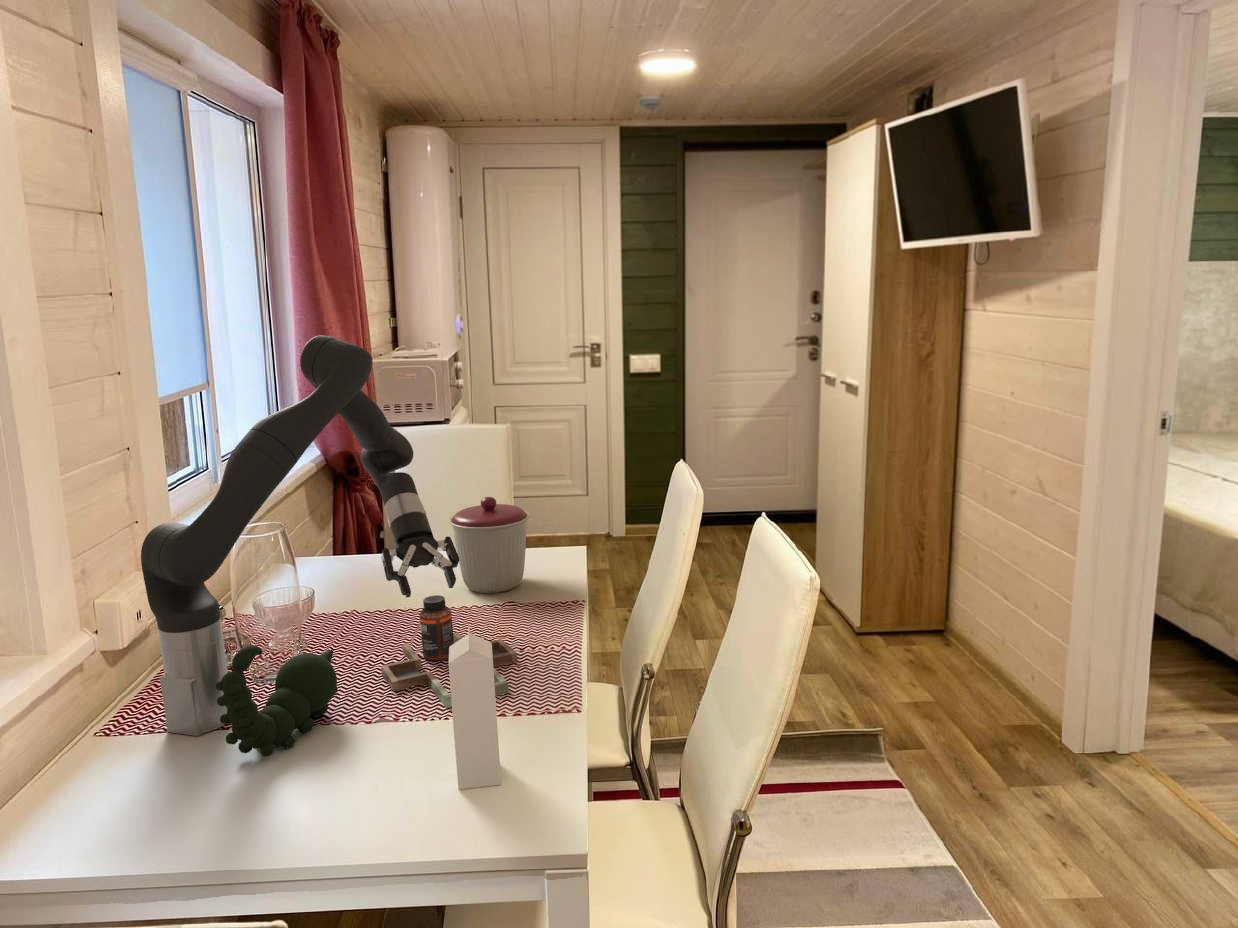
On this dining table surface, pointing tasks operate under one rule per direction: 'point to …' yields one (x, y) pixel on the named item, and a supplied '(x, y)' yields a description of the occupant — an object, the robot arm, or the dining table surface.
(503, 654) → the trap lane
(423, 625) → the supplement bottle
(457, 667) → the milk
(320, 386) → the robot arm
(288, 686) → the toy figurine
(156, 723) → the dining table surface
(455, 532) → the canister
